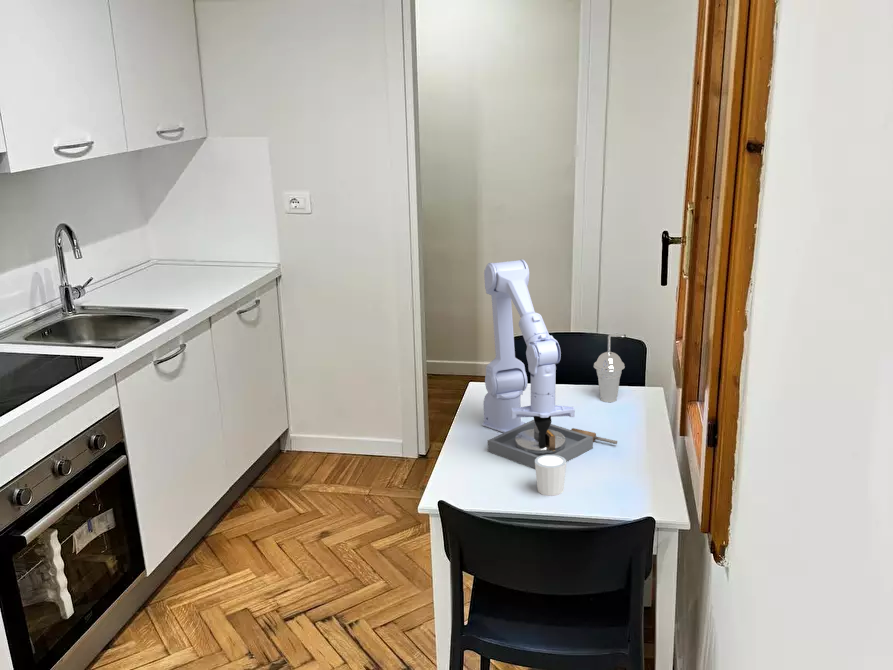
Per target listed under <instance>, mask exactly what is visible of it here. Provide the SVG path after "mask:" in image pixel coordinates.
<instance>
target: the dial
mask: <svg viewBox="0 0 893 670" xmlns="http://www.w3.org/2000/svg"><path fill="white" fill-rule="evenodd" d="M545 441H546V447H539V430H538V428H537V426H536V424H534V429H530V430H525V431H522V432H520V433H519V434H517V435H516V438H515V444H516V447H517V448H518V449H520V450H523V451H526V452H529V453H532V454H537V455H545V454H552V453H556V452H559V451H561V450H562V449H564V447H565V436H564V435H563V434H562V433H560V432H558V431H554V430H550V429H548V430H547V432H546V435H545Z"/></svg>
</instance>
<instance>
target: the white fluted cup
mask: <svg viewBox="0 0 893 670" xmlns="http://www.w3.org/2000/svg"><path fill="white" fill-rule="evenodd" d="M566 468H567V462H566V459H565V458H563V457H561V456H558V455H542V456H539V457H537V458H536V459H535V477H536V489H537V492H538V493H539V494H541V495H543V496H547V497H555V496H559V495H561V494H562V493H563V492H564V490H565V481H566V470H567V469H566Z"/></svg>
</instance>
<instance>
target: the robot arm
mask: <svg viewBox="0 0 893 670" xmlns="http://www.w3.org/2000/svg"><path fill="white" fill-rule="evenodd" d="M529 268H530V267H529V265H528V263H527V262H526V261H525V259H522V258H521V259H519V260H511V261H510V260H509V261H500V262H488V263H487V264H486V266H485V269H484V272H483V275H484V276H483V277H484V289H485V294H487V295H490V296H491V297H490V298H491V306H492V309H491V310H492V321H493V335H494V349H495V350H494V351H495V358H494V359H493V360H491V361H490V362H489V363H488V364H487V365H486V366H485V376H484V384H485V389H486V391H487V393H485V395H484V399H483V404H482V406H483V422H482V423H481V425H482V426H483V427H486V428H489V429H492V430H495V431H498V432H501V433H502V434H503V433H505V432H507V431H509V430H512V429H514V428H516V427H518V426H521V425H523V424H525V423H526V422H524V421H522V420H521V419H522V418H533V420H534V421H535V424H536V426H537V428H538V430H539V447H546V441H545V435H546V432H547V430H548V428H549V426H550V425H551V424H552V417H569V418H575V411H576V410H575V407H574V406H568V405H567V406H565V405H556V388H557V387H556V373H557V372H556V370H557V366H556V365H557V364H559V363H560V361H561V358H562V357H561V356H562V355H561V354H562V352H561V347H560V344H559V342H558V340H557V339H555V338H554V336H553V335H552V334H551V335H550V334H549V331H548V329H547V326H546V324H545V321H544V319H543V317H542V314H540V313H538V312H536V311H535V308H534V305H533V301H532V298H531V294H530V291H529V287H528V286H529V282H530V281H529V280H530V269H529ZM512 303H513V304H512ZM512 305H514V307H515V309H516V311H517V313H518V315H519V316H520V319H519V321H518V327H519V330H520V332H521V334H522V337H523V340H524V342H525V344H526V351H525V355H526V356H525V357H526V360H527V364H528V365H527V367H528V368H527V369H528V372H529V373H530V405H526V406H525V405H524V406H521V403H522V402H521V396H522V395H523V394H524V391H526V390H527V387H528V376H527V375H528V374H527V372H526V367H525V364H524V362H522V360H520V359H518V358H517V357H516V351H515V350H516V349H515V337H514V335H515V334H514V321H513V318H514V317H513V306H512Z"/></svg>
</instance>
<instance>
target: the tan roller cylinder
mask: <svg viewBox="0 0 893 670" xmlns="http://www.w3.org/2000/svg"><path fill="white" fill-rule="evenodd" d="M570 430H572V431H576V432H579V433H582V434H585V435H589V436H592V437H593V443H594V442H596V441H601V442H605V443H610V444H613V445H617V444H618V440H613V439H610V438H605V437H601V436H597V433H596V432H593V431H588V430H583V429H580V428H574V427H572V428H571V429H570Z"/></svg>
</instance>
